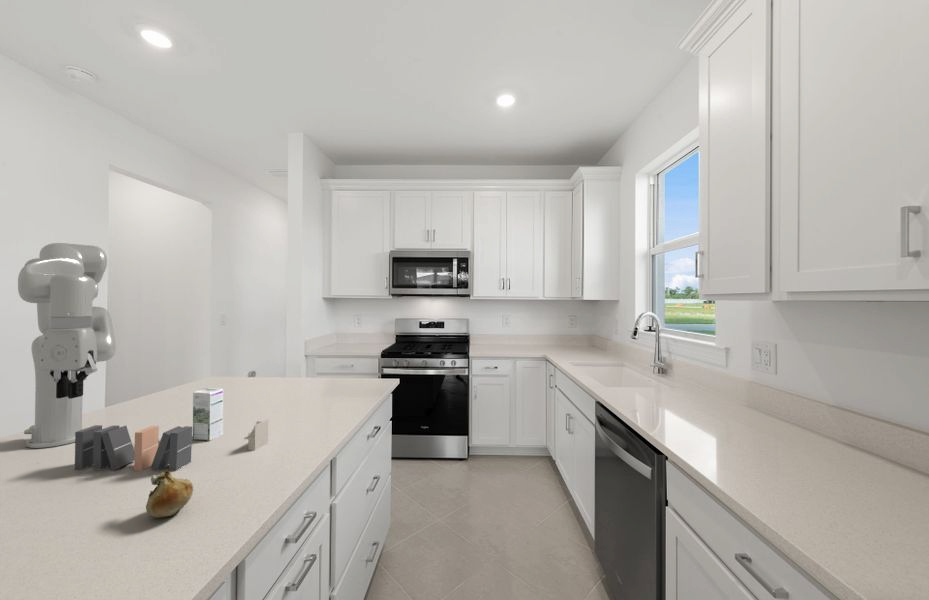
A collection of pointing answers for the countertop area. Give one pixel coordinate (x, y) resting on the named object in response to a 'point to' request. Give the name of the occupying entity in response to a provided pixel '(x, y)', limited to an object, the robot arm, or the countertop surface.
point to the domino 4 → (145, 447)
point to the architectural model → (258, 435)
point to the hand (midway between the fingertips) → (69, 396)
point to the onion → (168, 495)
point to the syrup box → (207, 414)
